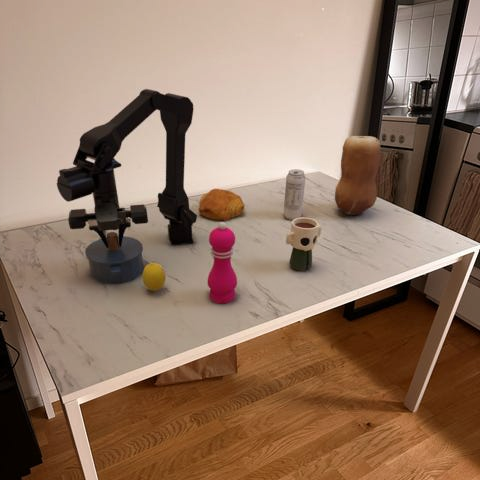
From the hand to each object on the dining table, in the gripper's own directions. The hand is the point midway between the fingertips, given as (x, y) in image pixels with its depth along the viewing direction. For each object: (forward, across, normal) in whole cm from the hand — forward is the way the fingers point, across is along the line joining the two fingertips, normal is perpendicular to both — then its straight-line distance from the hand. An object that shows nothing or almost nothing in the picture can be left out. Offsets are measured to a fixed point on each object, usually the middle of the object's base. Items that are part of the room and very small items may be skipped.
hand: (114, 247), depth 119 cm
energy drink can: (+7, +57, +23) cm, 62 cm away
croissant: (+7, +34, +31) cm, 47 cm away
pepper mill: (+7, +25, -18) cm, 32 cm away
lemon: (+7, +9, -12) cm, 17 cm away
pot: (+7, 0, 0) cm, 7 cm away
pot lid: (+1, 0, 0) cm, 1 cm away
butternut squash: (+7, +78, +22) cm, 81 cm away
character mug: (+7, +49, -8) cm, 50 cm away
